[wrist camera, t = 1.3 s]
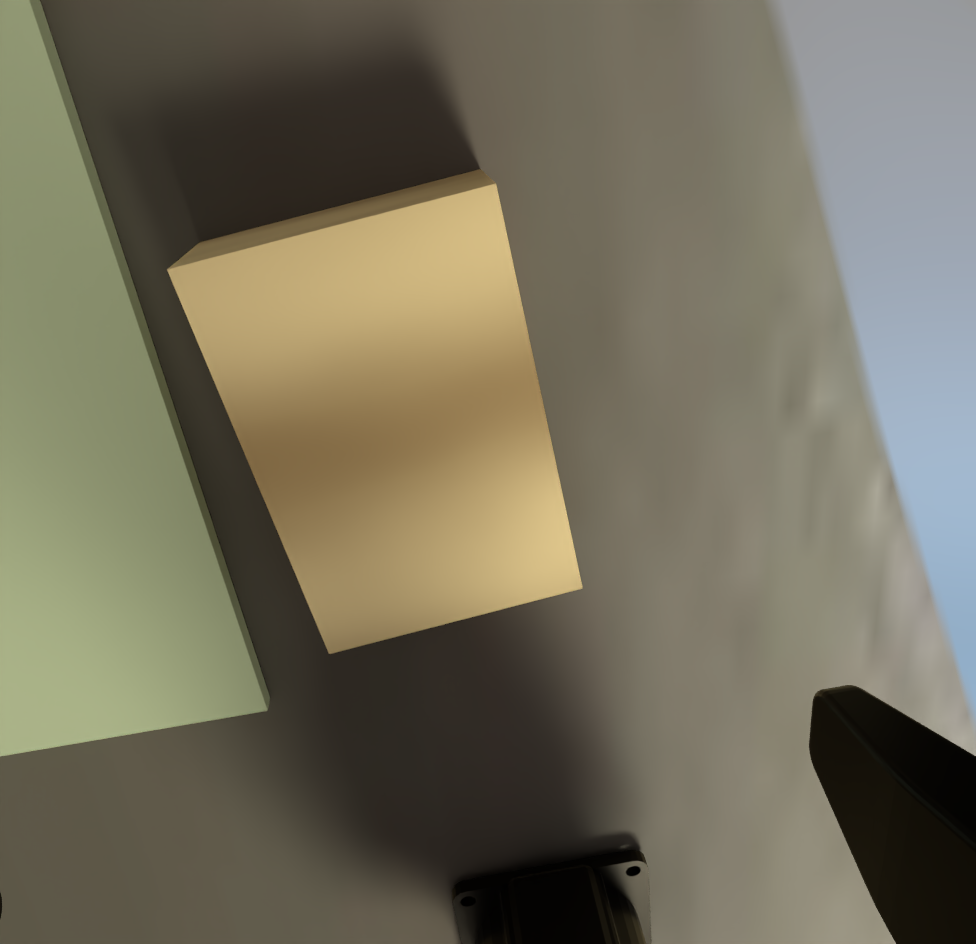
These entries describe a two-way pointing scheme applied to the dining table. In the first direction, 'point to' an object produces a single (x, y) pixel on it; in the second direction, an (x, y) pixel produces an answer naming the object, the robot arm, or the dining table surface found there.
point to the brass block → (388, 406)
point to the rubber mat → (92, 458)
